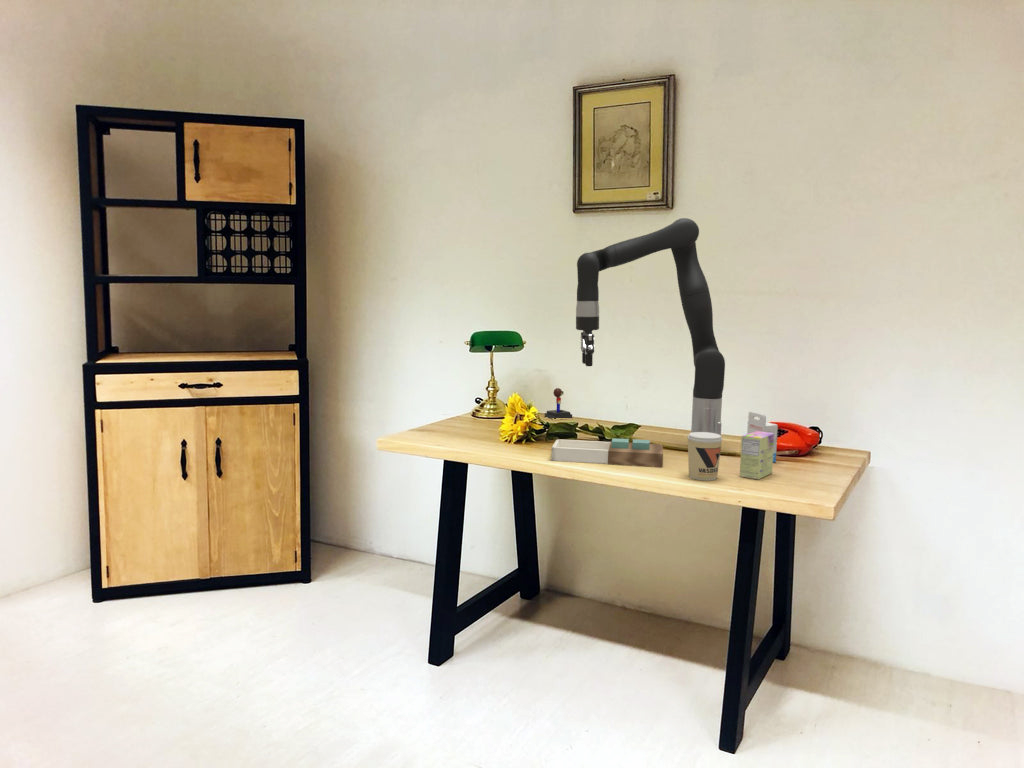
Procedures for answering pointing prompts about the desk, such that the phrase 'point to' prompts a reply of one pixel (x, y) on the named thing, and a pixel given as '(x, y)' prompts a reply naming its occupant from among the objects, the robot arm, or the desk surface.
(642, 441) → the tile
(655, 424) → the desk surface
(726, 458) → the desk surface
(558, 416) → the figurine
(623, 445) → the tile
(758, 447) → the box
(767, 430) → the ink box
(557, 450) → the tray
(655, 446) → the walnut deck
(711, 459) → the coffee cup
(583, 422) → the desk surface
